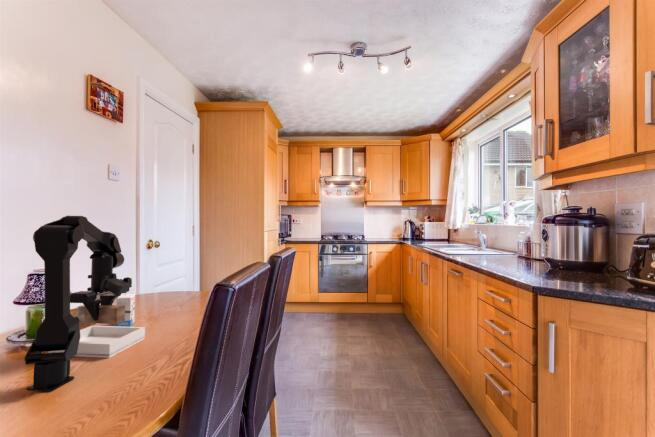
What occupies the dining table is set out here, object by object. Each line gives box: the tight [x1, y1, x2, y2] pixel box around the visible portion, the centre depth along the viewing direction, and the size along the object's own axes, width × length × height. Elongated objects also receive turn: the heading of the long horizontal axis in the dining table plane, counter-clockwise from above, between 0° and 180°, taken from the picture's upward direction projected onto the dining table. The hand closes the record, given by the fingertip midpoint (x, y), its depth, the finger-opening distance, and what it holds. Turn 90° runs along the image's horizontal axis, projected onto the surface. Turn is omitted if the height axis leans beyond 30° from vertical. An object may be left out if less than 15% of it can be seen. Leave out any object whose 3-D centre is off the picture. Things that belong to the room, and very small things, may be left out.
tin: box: [70, 307, 97, 330], centre depth 118 cm, size 15×3×8 cm, turn 168°
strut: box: [77, 304, 125, 325], centre depth 101 cm, size 14×4×5 cm, turn 86°
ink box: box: [116, 293, 136, 327], centre depth 123 cm, size 9×5×12 cm, turn 22°
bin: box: [47, 325, 146, 359], centre depth 101 cm, size 16×20×4 cm
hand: (100, 318), depth 101 cm, fingers closed on strut, 4 cm apart
